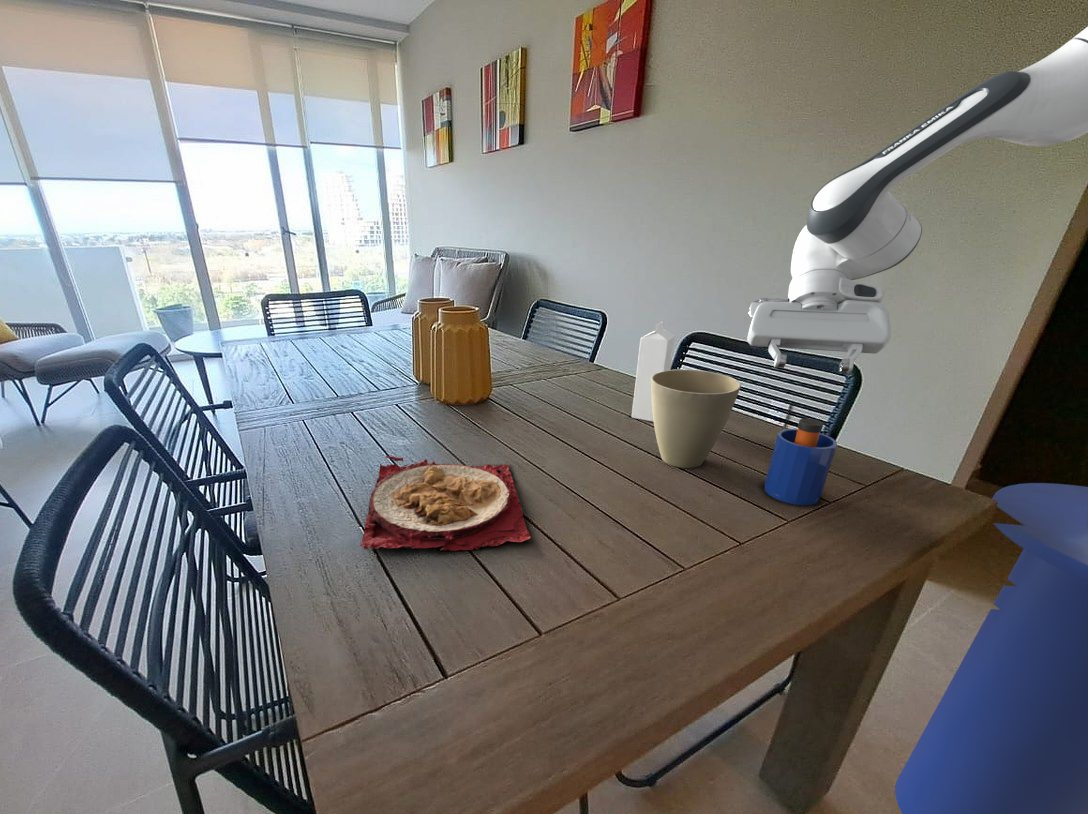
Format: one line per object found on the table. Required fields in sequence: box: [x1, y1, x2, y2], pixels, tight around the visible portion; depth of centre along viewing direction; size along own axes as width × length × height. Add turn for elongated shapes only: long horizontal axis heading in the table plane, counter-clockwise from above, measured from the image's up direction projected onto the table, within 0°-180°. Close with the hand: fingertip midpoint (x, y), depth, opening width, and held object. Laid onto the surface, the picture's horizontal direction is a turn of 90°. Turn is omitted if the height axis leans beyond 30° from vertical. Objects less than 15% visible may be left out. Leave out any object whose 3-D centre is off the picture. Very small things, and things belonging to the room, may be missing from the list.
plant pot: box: [651, 368, 742, 469], centre depth 89 cm, size 15×15×16 cm
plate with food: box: [359, 455, 532, 552], centre depth 77 cm, size 24×26×4 cm
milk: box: [631, 320, 676, 423], centre depth 109 cm, size 6×6×22 cm
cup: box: [763, 428, 838, 506], centre depth 78 cm, size 8×8×10 cm
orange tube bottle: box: [794, 418, 824, 447], centre depth 77 cm, size 3×3×12 cm
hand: (812, 368), depth 79 cm, fingers open, 8 cm apart
